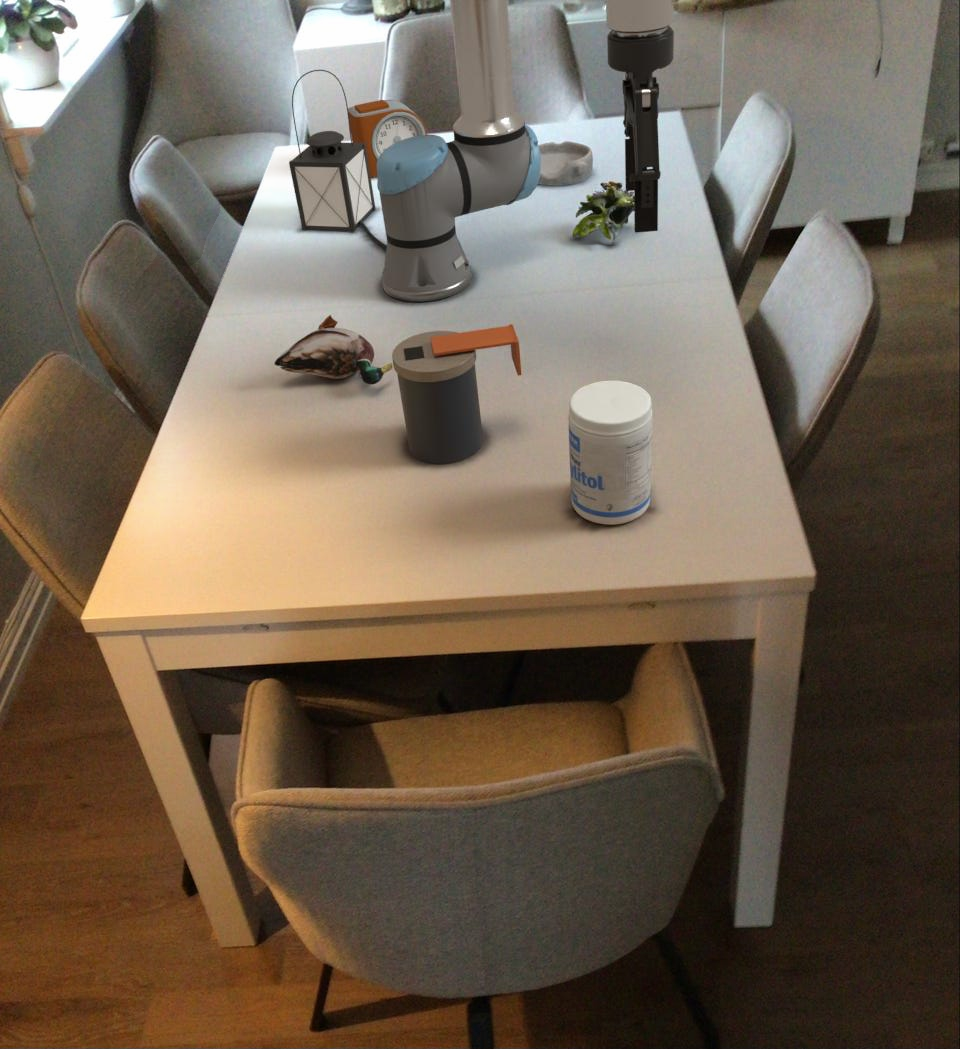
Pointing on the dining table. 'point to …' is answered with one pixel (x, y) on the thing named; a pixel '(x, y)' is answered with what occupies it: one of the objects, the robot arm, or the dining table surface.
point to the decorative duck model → (332, 354)
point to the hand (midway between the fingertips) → (640, 209)
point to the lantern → (332, 181)
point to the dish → (564, 163)
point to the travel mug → (438, 400)
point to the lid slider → (479, 342)
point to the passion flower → (605, 211)
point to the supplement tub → (610, 451)
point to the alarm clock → (382, 127)
